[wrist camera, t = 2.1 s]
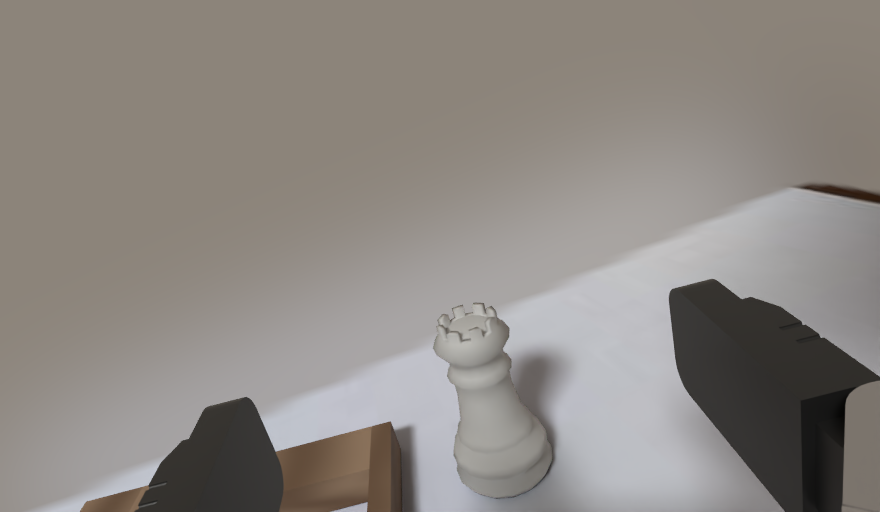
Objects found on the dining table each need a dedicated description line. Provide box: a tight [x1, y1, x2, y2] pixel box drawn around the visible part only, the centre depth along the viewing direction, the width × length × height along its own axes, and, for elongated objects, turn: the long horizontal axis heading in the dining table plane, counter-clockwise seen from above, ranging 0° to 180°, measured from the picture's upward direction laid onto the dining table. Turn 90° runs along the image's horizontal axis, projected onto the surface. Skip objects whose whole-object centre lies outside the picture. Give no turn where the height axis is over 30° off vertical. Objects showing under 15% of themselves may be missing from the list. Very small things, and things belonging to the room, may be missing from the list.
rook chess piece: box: [433, 303, 552, 499], centre depth 25 cm, size 4×4×8 cm
